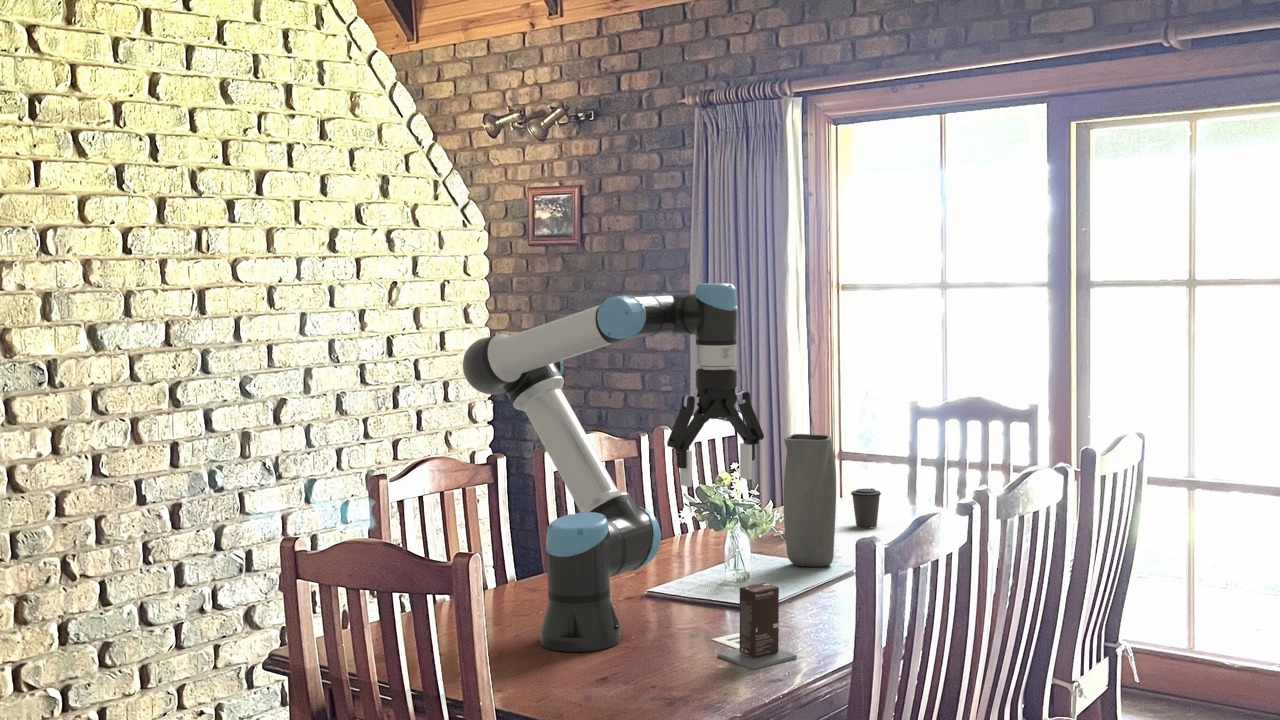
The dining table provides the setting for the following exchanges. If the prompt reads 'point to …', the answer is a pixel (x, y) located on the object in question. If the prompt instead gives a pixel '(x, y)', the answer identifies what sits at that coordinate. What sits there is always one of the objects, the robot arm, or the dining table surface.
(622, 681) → the dining table surface
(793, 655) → the coaster
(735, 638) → the tile
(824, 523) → the vase
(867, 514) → the coffee cup
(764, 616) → the box
